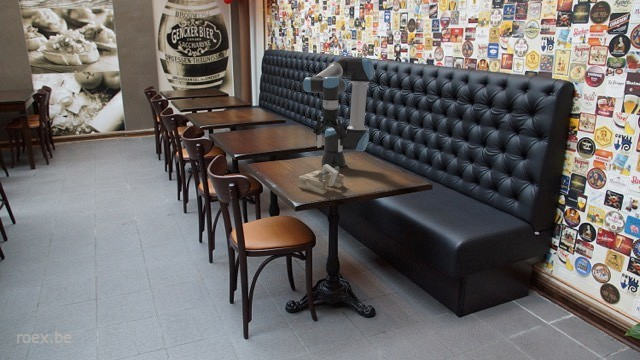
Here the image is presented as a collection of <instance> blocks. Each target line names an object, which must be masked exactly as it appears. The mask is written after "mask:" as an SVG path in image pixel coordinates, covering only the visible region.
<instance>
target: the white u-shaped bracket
mask: <svg viewBox="0 0 640 360" xmlns="http://www.w3.org/2000/svg"><path fill="white" fill-rule="evenodd" d="M321 170H322V171H321V172H325V171H328V172H330V173H331V174H332V175H331V177H330V180H329V183H328V185H327V187H334V186H333V184H334V182H335V179H336V177H337V174H338V171H336V170H335V169H334V168H332V167H331V166H329V165H328V164H325V165H323V166H322V169H321ZM324 178H325V175H323V179H324Z"/></svg>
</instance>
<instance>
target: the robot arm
mask: <svg viewBox="0 0 640 360" xmlns="http://www.w3.org/2000/svg"><path fill="white" fill-rule="evenodd" d="M374 76H375V69H374V63H373V61H372V60H371V59H370V58H363V57H342V58H339V59H336V60H334V61H332V62H331V63H329V64H328V66H327V67H326V68H324V70H322V71H320V72H319V73H318V74H316V75H314V76H312V77H305V78H304V79H303V83H302V88H303V90H304V91H305V92H308V93H317V94H319V93H320V94H322V96H323V99H322V100H323V101H322V107H323V109H322V115H321V116H319V115H318V117H317V122H316V124H315V127H314V129H313V131H312V132H313V134H315V135H316V136H315V137H316V144H317V145H316V147H317V148H322V145H323V144H322V143H323V139H322V138H323V135H322V133H323V132H324V152H323V156H322V159H321V163H320V164H321V166H322V167H323V165H325V164H328V165H329V166H331V167H332V168H333V169H334V168H335V167H337V166H338V167H339V169H340V168H343V167H346V165H347V161H346V158H345V155H344V150H345V151H352V152H353V151H355V152H364V151H365V150H366V149H367V146H368V144H369V139H370V133H369V132H367V128H366V127H365V120H366V119H365V118H366V117H365V115H366V107H367V106H366V105H367V104H366V103H367V90H368V85H369V84H370V83H371V80H373V79H374ZM346 79H349V81H350V83H351V85H352V87H351V88H352V89H351V99H350V100H351V102H350V118H349V125H348V126H347V128H346V129H345V125H344V122H343V121H344V120H343V118H340V119H338V116H339V95H340V94H343V93H344V92H346V90H347V88H348V84H347V81H346ZM327 127H328V128H327ZM325 129H326V130H325ZM324 130H325V131H324Z"/></svg>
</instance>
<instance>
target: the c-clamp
mask: <svg viewBox="0 0 640 360" xmlns="http://www.w3.org/2000/svg"><path fill="white" fill-rule="evenodd" d="M333 169H335V170H336V171H338V174H337V177H336V179H335V182H334V184H333V186H332V187H336V188H342V187H343V186H344V183H345V182H344V181H345V180H344V177H345V174H341V173H340V168H339V167H338V166H337V167H335V168H333ZM321 171H322V169H316V170H314V171H311V172H309V173H306V174H302V175H299V176H298V188H300V189H304V190H307V191H311V192H314V193H318V194H320V195H324V194H325V193H328V183H329V180H330V177H331V175H332V174H331V173H330V172H328V171H325V172H321ZM323 175H325V178H324V179H323Z"/></svg>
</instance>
